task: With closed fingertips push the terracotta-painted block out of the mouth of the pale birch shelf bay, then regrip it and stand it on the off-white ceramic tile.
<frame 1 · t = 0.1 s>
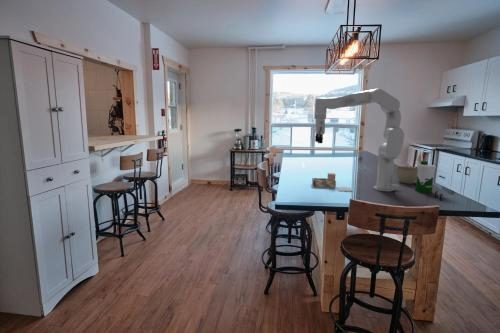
hand: (318, 142, 198), 31 cm above the countertop, fingers open, 9 cm apart
planter bowl: (406, 182, 220), on the countertop
blank block: (330, 186, 206), on the countertop
shelf bay: (323, 185, 207), on the countertop
milk carton: (423, 191, 195), on the countertop
tile pad: (344, 189, 197), on the countertop
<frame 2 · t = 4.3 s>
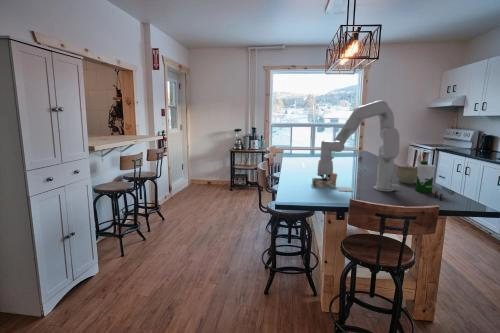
hand: (324, 183, 206), 1 cm above the countertop, fingers closed
blank block: (330, 185, 206), on the countertop, tilted 8°
everything else where it was.
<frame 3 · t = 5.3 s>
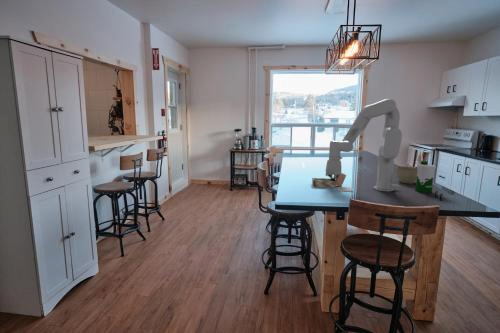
hand: (332, 184, 206), 1 cm above the countertop, fingers closed
blank block: (337, 185, 206), point 1 cm above the countertop, tilted 19°, touching gripper
everything else where it was.
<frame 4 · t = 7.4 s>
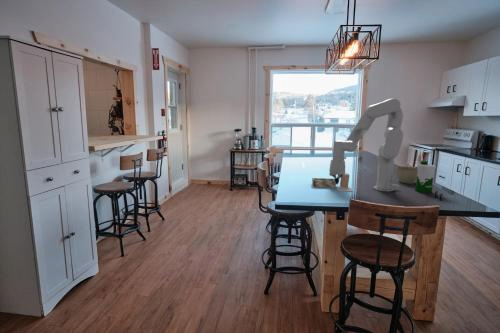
hand: (336, 183, 206), 2 cm above the countertop, fingers closed
blank block: (343, 186, 205), on the countertop
everything else where it was.
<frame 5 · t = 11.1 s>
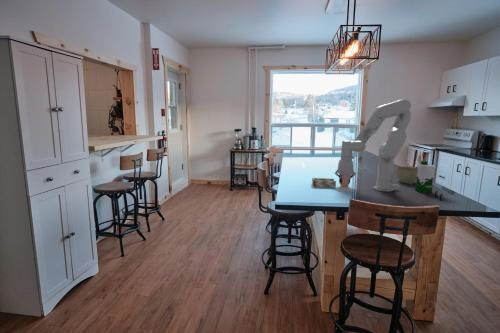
hand: (344, 183, 205), 2 cm above the countertop, fingers closed on blank block, 4 cm apart
blank block: (344, 186, 205), on the countertop, touching gripper
everything else where it was.
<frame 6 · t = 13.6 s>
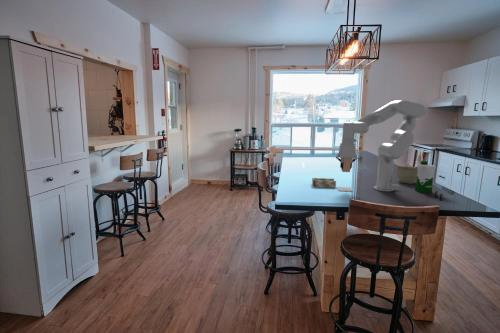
hand: (345, 168, 194), 15 cm above the countertop, fingers closed on blank block, 4 cm apart
blank block: (345, 171, 194), point 13 cm above the countertop, touching gripper
everything else where it was.
when the fingers open (4 cm above the countertop, at t = 15.7 s): blank block drops 1 cm, resting on tile pad.
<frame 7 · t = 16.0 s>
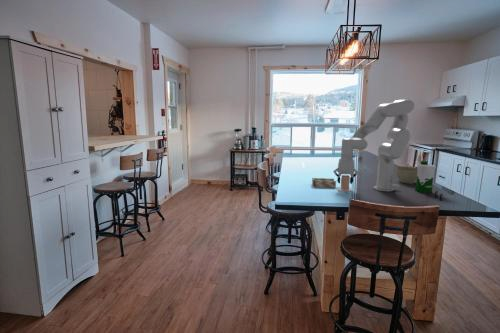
hand: (344, 183, 196), 5 cm above the countertop, fingers open, 7 cm apart
blank block: (344, 188, 196), point 1 cm above the countertop, touching tile pad
everything else where it was.
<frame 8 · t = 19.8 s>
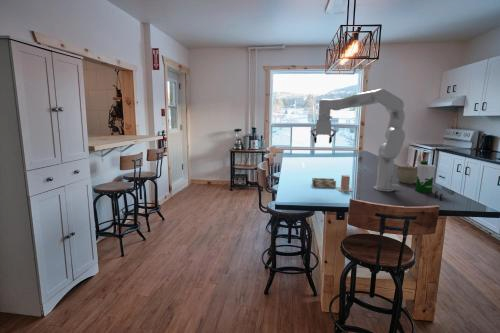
hand: (322, 143, 200), 30 cm above the countertop, fingers open, 9 cm apart
nothing on the countertop moved.
at the end: blank block inside the target area on the tile pad (0.1 cm from its centre), point 0.6 cm above the tile pad's base; blank block tilted 0°; the gripper is holding nothing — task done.
